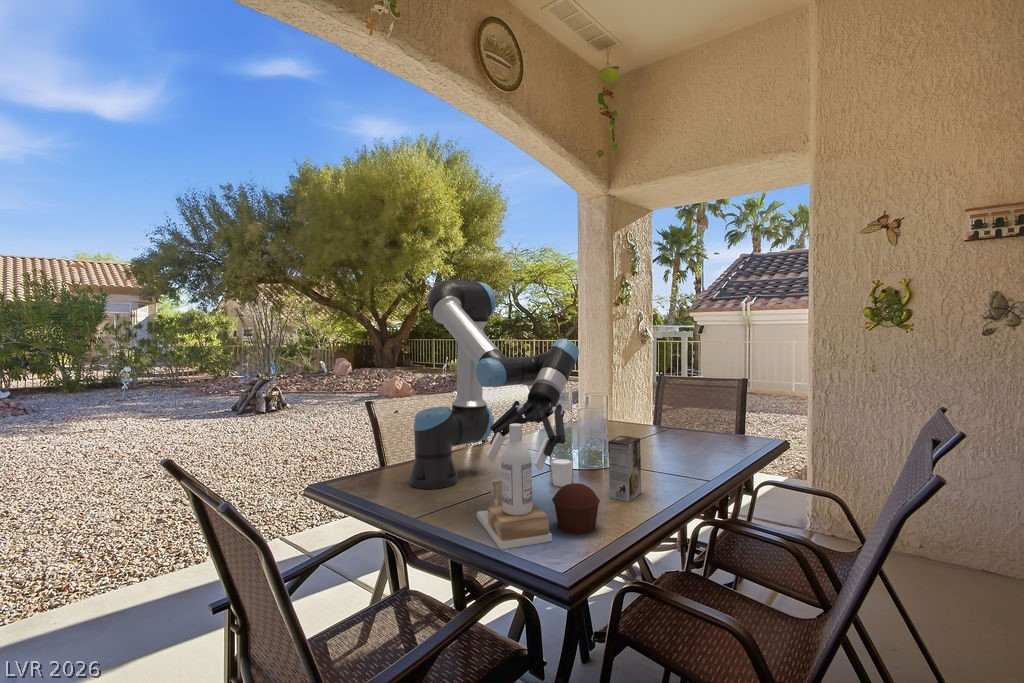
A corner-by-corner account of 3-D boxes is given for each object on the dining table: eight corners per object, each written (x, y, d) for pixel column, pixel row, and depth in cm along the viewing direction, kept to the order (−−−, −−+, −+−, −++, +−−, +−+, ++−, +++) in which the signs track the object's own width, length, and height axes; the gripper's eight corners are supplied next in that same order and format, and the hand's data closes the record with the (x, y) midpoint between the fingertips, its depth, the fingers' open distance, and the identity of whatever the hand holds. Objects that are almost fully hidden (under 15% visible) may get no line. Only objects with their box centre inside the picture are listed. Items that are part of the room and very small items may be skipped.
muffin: (561, 516, 123) (560, 476, 123) (604, 521, 118) (603, 480, 118) (546, 533, 112) (545, 490, 112) (593, 540, 107) (592, 495, 107)
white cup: (572, 480, 153) (572, 458, 153) (573, 487, 146) (573, 464, 146) (551, 480, 154) (550, 458, 154) (550, 487, 147) (550, 464, 147)
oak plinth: (487, 523, 115) (487, 506, 115) (531, 517, 118) (530, 500, 118) (501, 541, 104) (501, 523, 104) (548, 533, 108) (548, 516, 108)
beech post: (491, 511, 122) (491, 480, 122) (510, 509, 124) (509, 478, 124) (497, 518, 117) (496, 485, 117) (516, 515, 119) (516, 483, 119)
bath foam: (532, 505, 115) (530, 421, 114) (533, 516, 108) (531, 427, 107) (503, 505, 115) (501, 422, 114) (502, 516, 108) (500, 427, 107)
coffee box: (621, 489, 143) (620, 435, 143) (642, 493, 139) (641, 437, 139) (608, 497, 136) (607, 440, 136) (630, 502, 132) (629, 443, 132)
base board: (477, 517, 122) (476, 511, 122) (521, 511, 126) (521, 505, 126) (500, 549, 104) (500, 542, 104) (551, 541, 107) (551, 534, 107)
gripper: (596, 402, 116) (566, 480, 105) (513, 396, 131) (478, 463, 119) (585, 382, 112) (553, 460, 100) (501, 378, 127) (463, 446, 115)
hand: (512, 462), depth 110 cm, fingers open, 13 cm apart
